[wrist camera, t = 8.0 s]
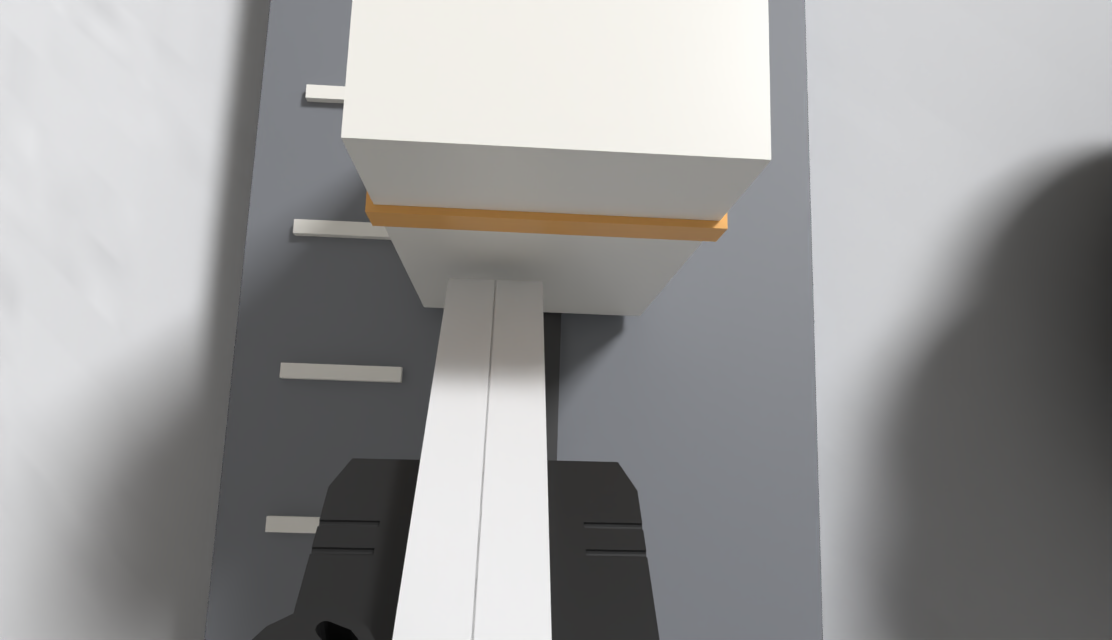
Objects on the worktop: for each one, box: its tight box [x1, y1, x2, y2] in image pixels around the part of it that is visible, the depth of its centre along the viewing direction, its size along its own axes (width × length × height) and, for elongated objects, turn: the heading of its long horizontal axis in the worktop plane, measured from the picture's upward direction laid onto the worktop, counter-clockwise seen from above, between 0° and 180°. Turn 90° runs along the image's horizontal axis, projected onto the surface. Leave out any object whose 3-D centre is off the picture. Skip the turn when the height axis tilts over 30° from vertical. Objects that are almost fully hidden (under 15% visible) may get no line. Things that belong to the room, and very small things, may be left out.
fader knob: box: [341, 0, 771, 316], centre depth 13 cm, size 5×5×9 cm
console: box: [205, 0, 823, 640], centre depth 18 cm, size 22×12×3 cm, turn 178°
